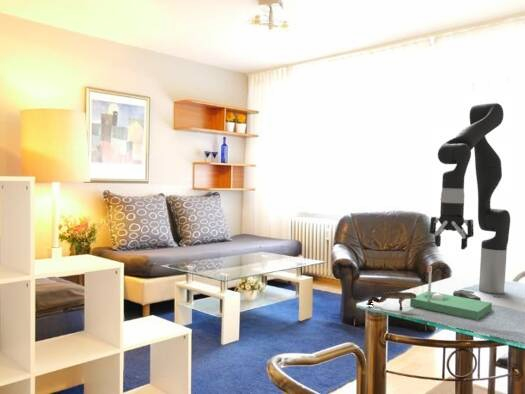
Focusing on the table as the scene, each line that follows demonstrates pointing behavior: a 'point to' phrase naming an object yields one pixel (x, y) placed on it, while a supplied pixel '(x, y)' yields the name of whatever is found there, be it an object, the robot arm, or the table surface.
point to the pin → (429, 269)
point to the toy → (393, 297)
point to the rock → (465, 295)
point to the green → (453, 305)
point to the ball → (437, 297)
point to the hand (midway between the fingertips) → (450, 247)
